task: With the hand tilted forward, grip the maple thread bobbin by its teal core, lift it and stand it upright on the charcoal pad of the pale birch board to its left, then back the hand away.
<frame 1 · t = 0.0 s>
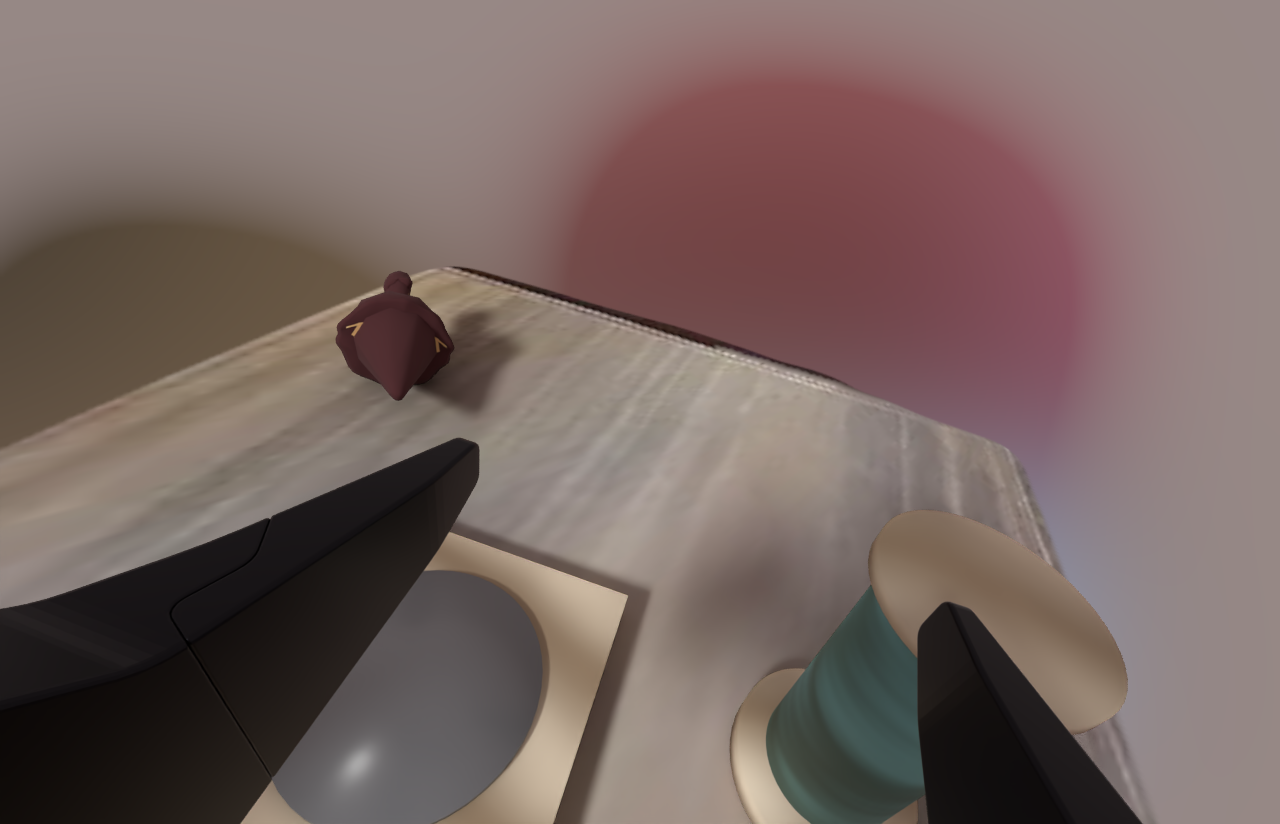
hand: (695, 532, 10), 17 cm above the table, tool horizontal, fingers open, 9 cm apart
stand board: (369, 777, 19), on the table
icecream: (401, 381, 38), on the table
bobbin: (814, 769, 22), on the table
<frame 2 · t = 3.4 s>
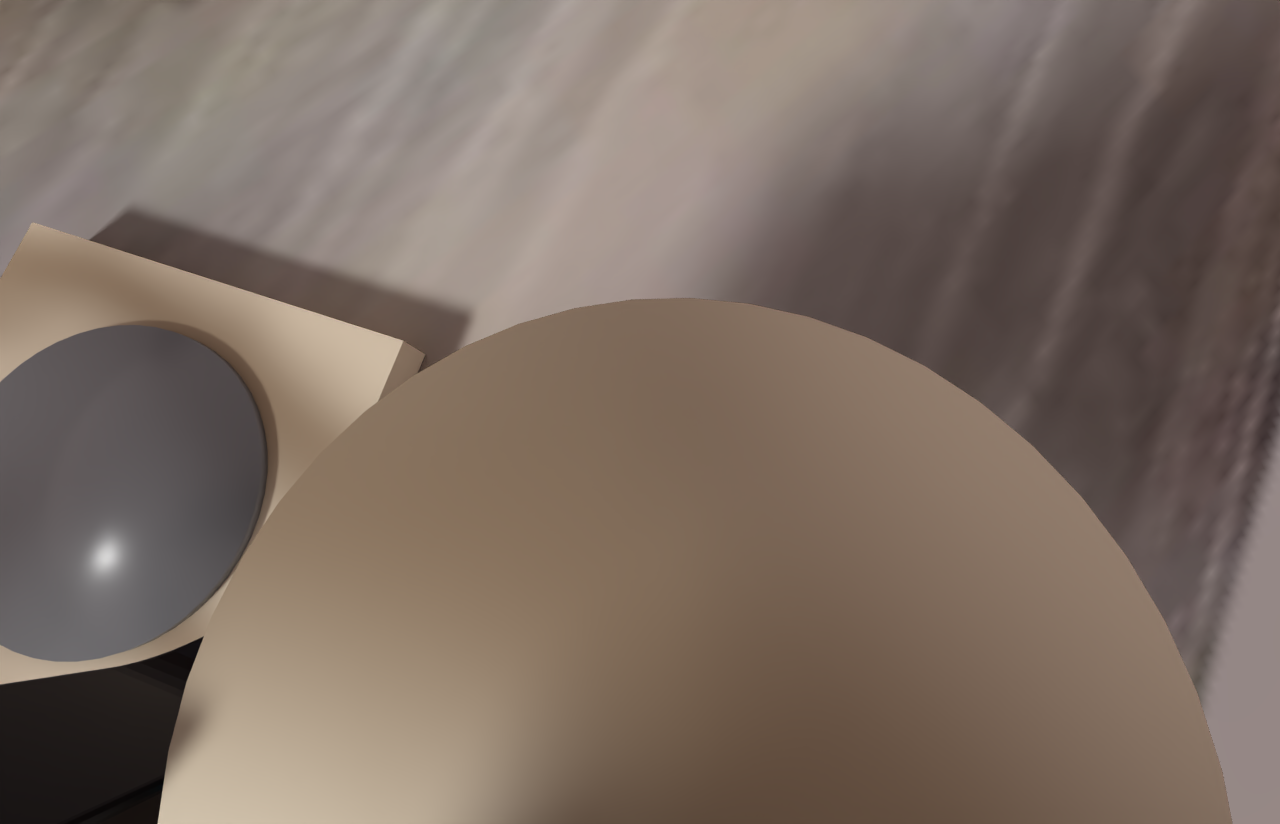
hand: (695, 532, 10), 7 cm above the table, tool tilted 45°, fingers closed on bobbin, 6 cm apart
stand board: (113, 574, 17), on the table
bobbin: (667, 565, 16), on the table, touching gripper
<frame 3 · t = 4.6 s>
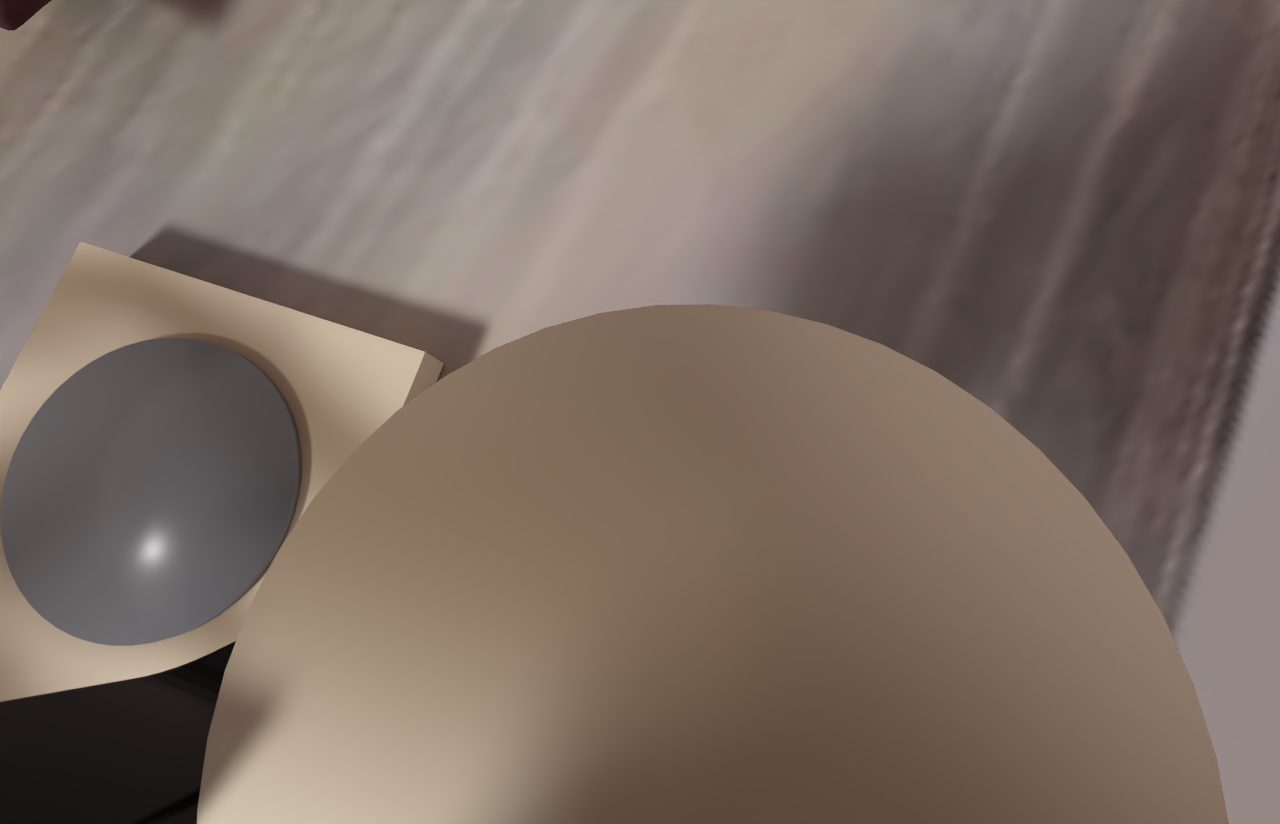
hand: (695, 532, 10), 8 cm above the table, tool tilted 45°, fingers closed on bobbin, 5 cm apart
stand board: (158, 566, 18), on the table
bobbin: (668, 564, 16), point 1 cm above the table, touching gripper
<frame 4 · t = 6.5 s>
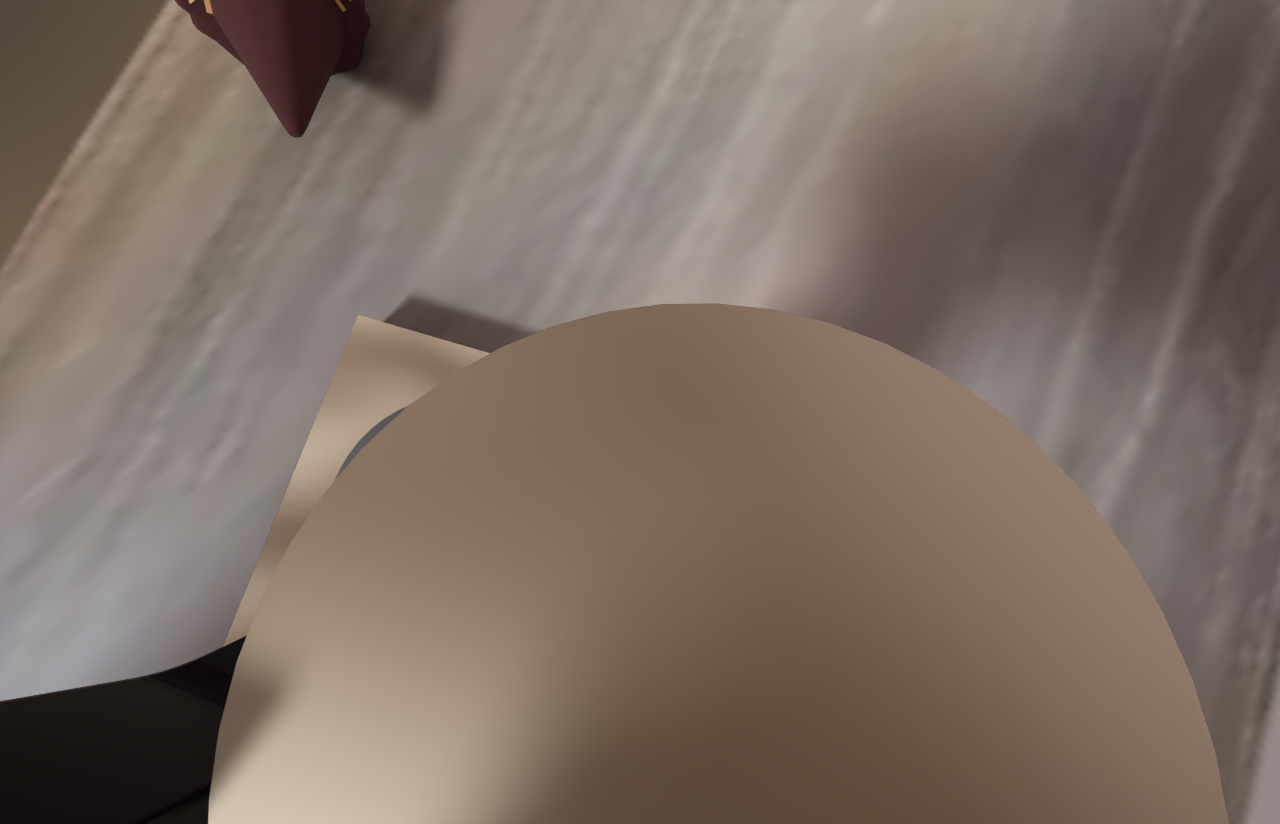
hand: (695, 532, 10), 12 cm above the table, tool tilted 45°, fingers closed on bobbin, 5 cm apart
stand board: (439, 586, 22), on the table
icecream: (329, 66, 27), on the table
bobbin: (670, 566, 16), point 6 cm above the table, touching gripper
when the fingers open (9 cm above the table, at t = 8.7 s): bobbin stays where it is, resting on stand board.
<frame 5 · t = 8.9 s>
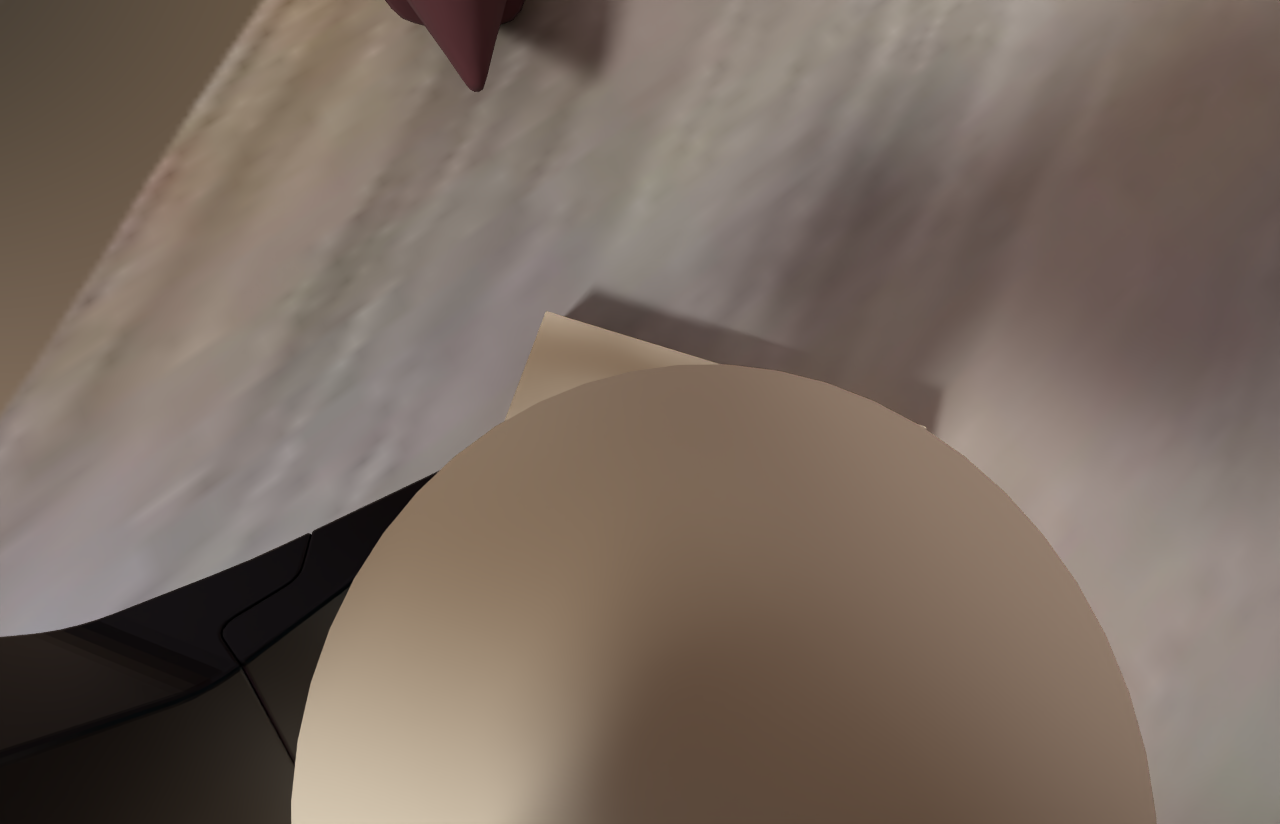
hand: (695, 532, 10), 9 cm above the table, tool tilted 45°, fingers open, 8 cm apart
stand board: (642, 638, 18), on the table
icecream: (479, 19, 23), on the table
bobbin: (668, 567, 17), point 2 cm above the table, touching stand board
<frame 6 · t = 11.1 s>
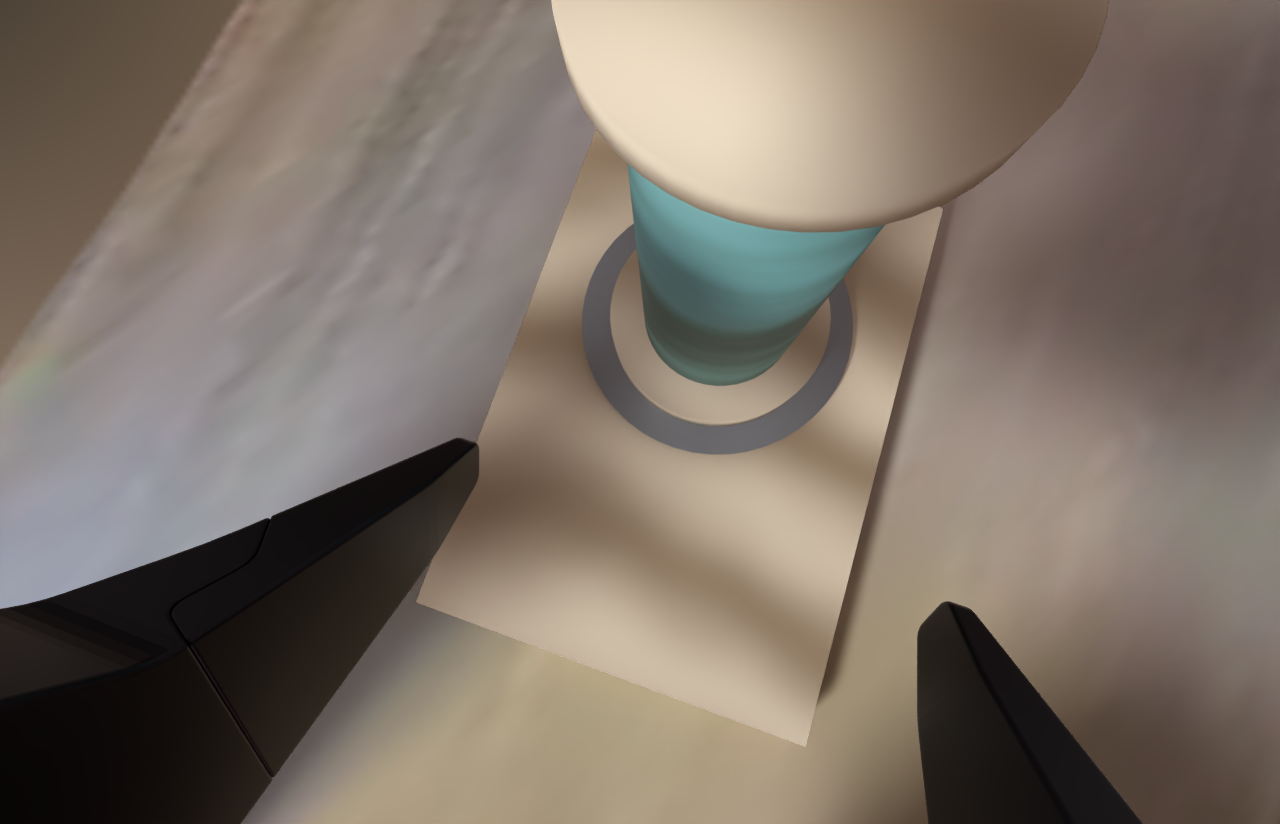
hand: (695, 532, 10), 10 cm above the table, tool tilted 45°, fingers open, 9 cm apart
stand board: (689, 404, 20), on the table
bobbin: (715, 324, 19), point 2 cm above the table, touching stand board
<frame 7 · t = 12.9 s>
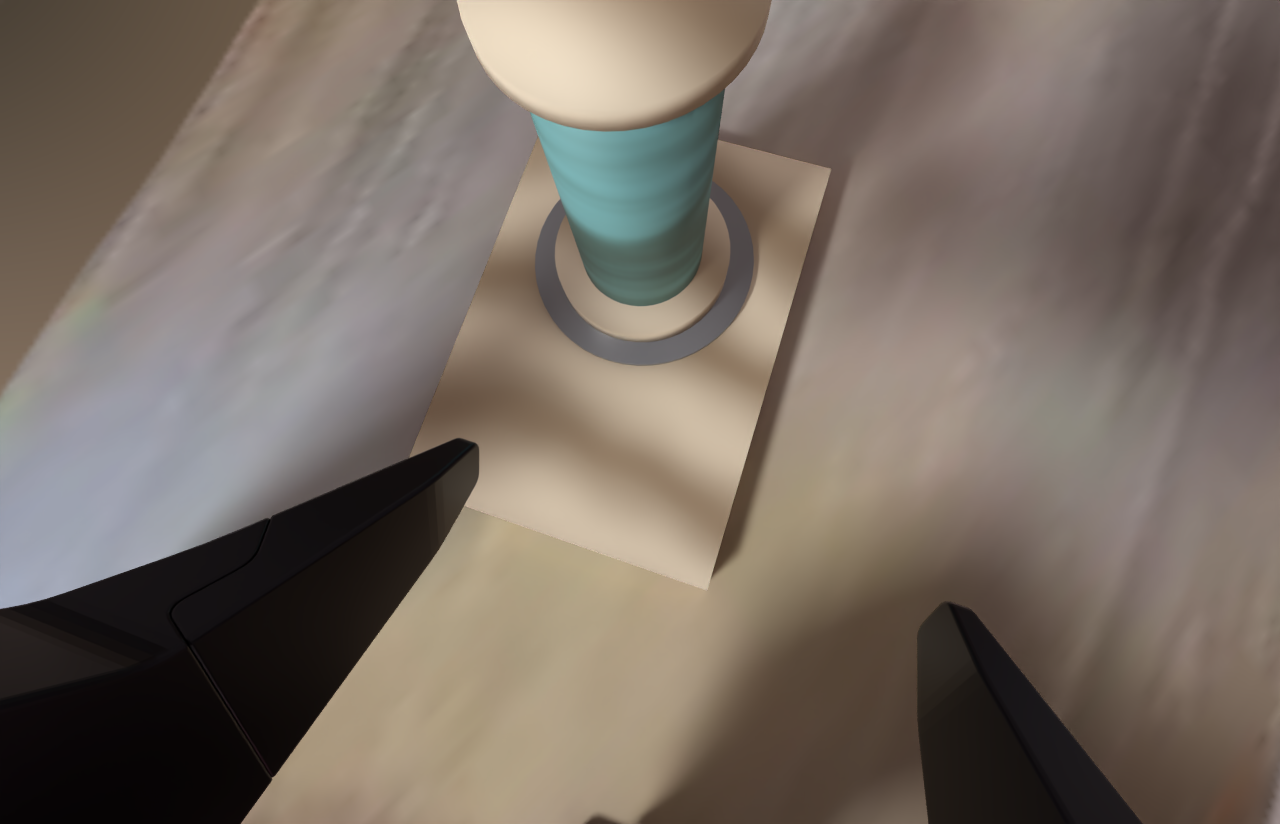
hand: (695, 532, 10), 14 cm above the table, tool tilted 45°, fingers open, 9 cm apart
stand board: (625, 331, 25), on the table
bobbin: (643, 262, 23), point 2 cm above the table, touching stand board
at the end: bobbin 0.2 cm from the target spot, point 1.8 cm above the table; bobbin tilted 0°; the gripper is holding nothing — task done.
